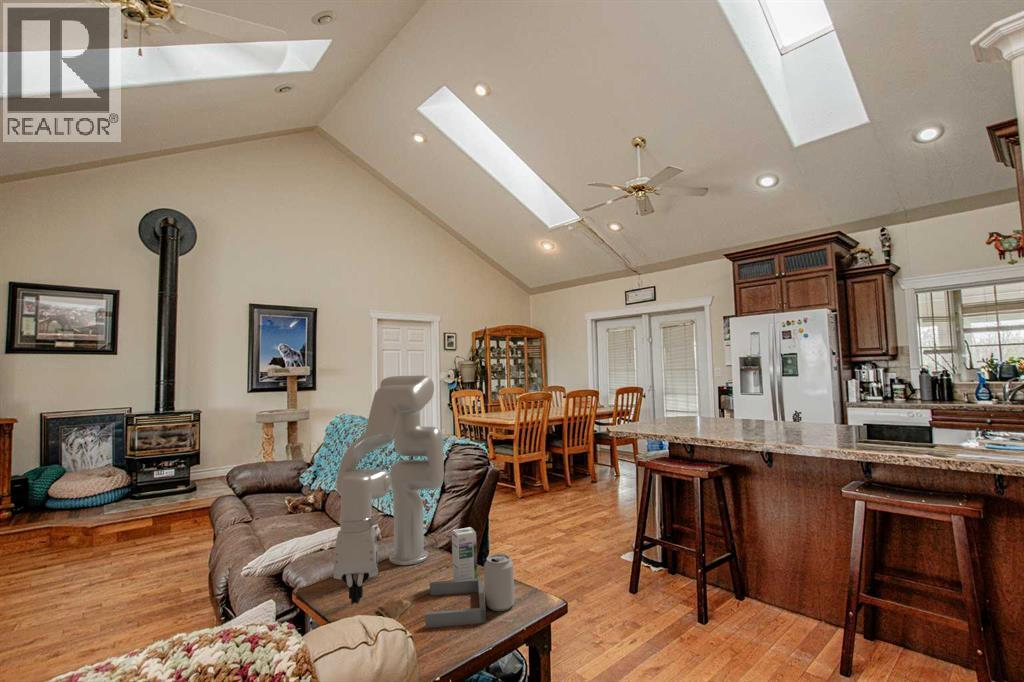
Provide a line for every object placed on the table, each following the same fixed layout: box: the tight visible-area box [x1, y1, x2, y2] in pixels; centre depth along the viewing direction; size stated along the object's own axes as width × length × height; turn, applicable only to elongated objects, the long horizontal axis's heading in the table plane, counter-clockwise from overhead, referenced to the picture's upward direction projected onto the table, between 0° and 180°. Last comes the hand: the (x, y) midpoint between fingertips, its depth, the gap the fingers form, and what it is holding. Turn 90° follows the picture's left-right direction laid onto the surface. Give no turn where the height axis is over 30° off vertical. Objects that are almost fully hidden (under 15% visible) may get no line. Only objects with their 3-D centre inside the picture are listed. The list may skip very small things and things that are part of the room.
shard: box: [376, 598, 412, 622], centre depth 121 cm, size 11×8×2 cm
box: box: [424, 577, 487, 629], centre depth 123 cm, size 18×14×3 cm
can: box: [483, 553, 515, 612], centre depth 124 cm, size 8×8×12 cm
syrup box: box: [451, 526, 479, 580], centre depth 139 cm, size 6×6×14 cm
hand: (355, 601), depth 120 cm, fingers closed
